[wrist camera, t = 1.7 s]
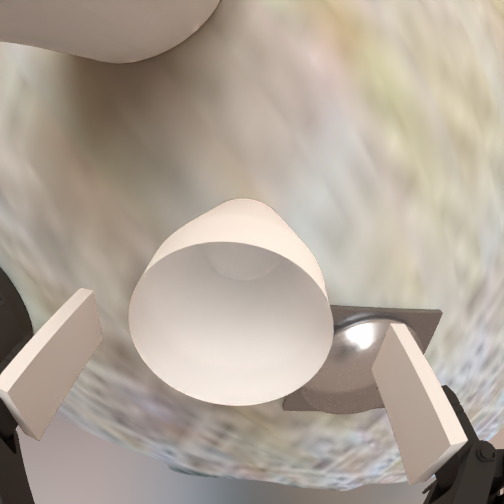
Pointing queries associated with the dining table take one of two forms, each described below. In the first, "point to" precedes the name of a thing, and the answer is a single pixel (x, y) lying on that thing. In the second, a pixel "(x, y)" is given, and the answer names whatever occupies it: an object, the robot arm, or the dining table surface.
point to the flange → (357, 358)
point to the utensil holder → (103, 26)
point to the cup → (233, 308)
